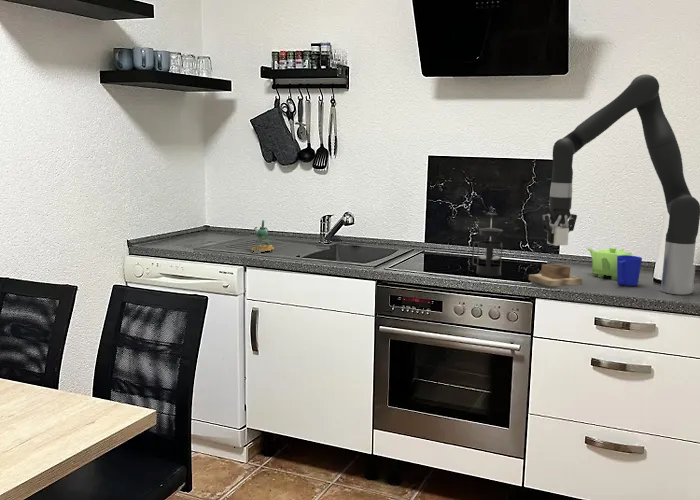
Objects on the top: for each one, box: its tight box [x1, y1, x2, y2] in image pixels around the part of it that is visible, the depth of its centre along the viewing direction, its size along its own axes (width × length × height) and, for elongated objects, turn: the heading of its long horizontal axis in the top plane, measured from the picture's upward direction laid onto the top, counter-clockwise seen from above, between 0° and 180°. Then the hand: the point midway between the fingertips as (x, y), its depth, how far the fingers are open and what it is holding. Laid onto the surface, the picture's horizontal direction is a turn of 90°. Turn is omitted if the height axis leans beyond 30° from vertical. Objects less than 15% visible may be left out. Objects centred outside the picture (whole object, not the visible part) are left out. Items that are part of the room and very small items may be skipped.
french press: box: [471, 212, 504, 277], centre depth 263 cm, size 12×9×23 cm
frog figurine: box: [250, 220, 275, 251], centre depth 305 cm, size 10×18×15 cm, turn 157°
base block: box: [540, 263, 571, 279], centre depth 250 cm, size 7×7×4 cm
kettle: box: [586, 247, 632, 281], centre depth 261 cm, size 15×14×11 cm
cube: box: [546, 226, 570, 247], centre depth 248 cm, size 5×5×6 cm
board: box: [528, 273, 583, 288], centre depth 250 cm, size 14×12×2 cm
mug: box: [616, 255, 643, 287], centre depth 246 cm, size 8×12×10 cm
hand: (557, 243), depth 248 cm, fingers closed on cube, 5 cm apart
